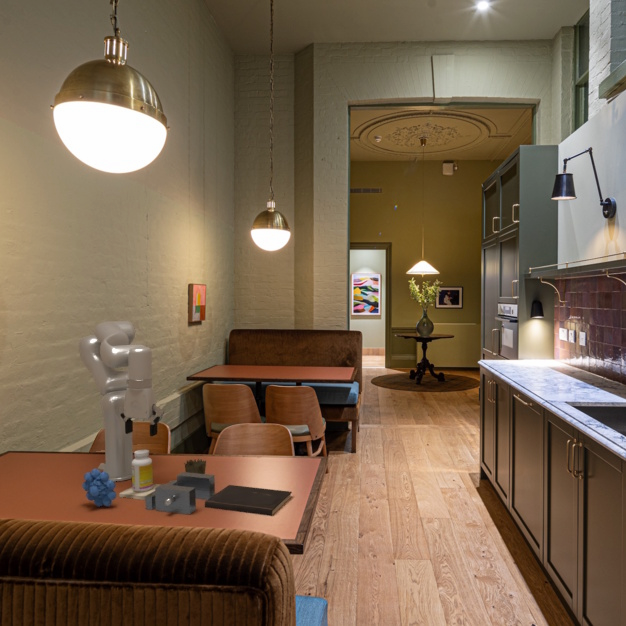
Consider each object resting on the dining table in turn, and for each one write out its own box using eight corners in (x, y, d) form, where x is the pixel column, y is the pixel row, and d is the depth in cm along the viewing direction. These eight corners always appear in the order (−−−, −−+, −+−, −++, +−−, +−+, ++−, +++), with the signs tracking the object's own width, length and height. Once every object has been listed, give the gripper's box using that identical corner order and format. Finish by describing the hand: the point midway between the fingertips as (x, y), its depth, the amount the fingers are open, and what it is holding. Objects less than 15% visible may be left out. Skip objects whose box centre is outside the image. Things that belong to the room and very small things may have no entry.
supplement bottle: (157, 486, 182) (156, 449, 182) (145, 493, 176) (143, 454, 176) (140, 484, 184) (139, 448, 184) (128, 491, 178) (127, 453, 178)
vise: (139, 512, 163) (139, 490, 163) (173, 491, 181) (173, 471, 180) (184, 518, 158) (183, 495, 158) (214, 496, 176) (214, 475, 176)
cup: (201, 488, 183) (200, 465, 183) (181, 487, 184) (180, 464, 184) (209, 481, 190) (209, 459, 190) (190, 480, 192) (190, 458, 191)
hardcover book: (229, 491, 182) (229, 484, 182) (291, 498, 174) (291, 491, 174) (204, 509, 166) (204, 501, 166) (272, 517, 159) (271, 510, 159)
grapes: (74, 510, 165) (73, 472, 165) (88, 502, 172) (87, 465, 172) (108, 513, 163) (107, 474, 163) (120, 504, 170) (119, 467, 169)
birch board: (119, 497, 176) (119, 493, 176) (139, 485, 187) (139, 482, 187) (147, 500, 173) (147, 496, 173) (166, 488, 183) (166, 485, 183)
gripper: (111, 384, 178) (112, 434, 179) (155, 387, 173) (156, 439, 174) (126, 380, 185) (126, 429, 186) (169, 383, 180) (169, 433, 181)
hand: (141, 434), depth 180 cm, fingers open, 9 cm apart
